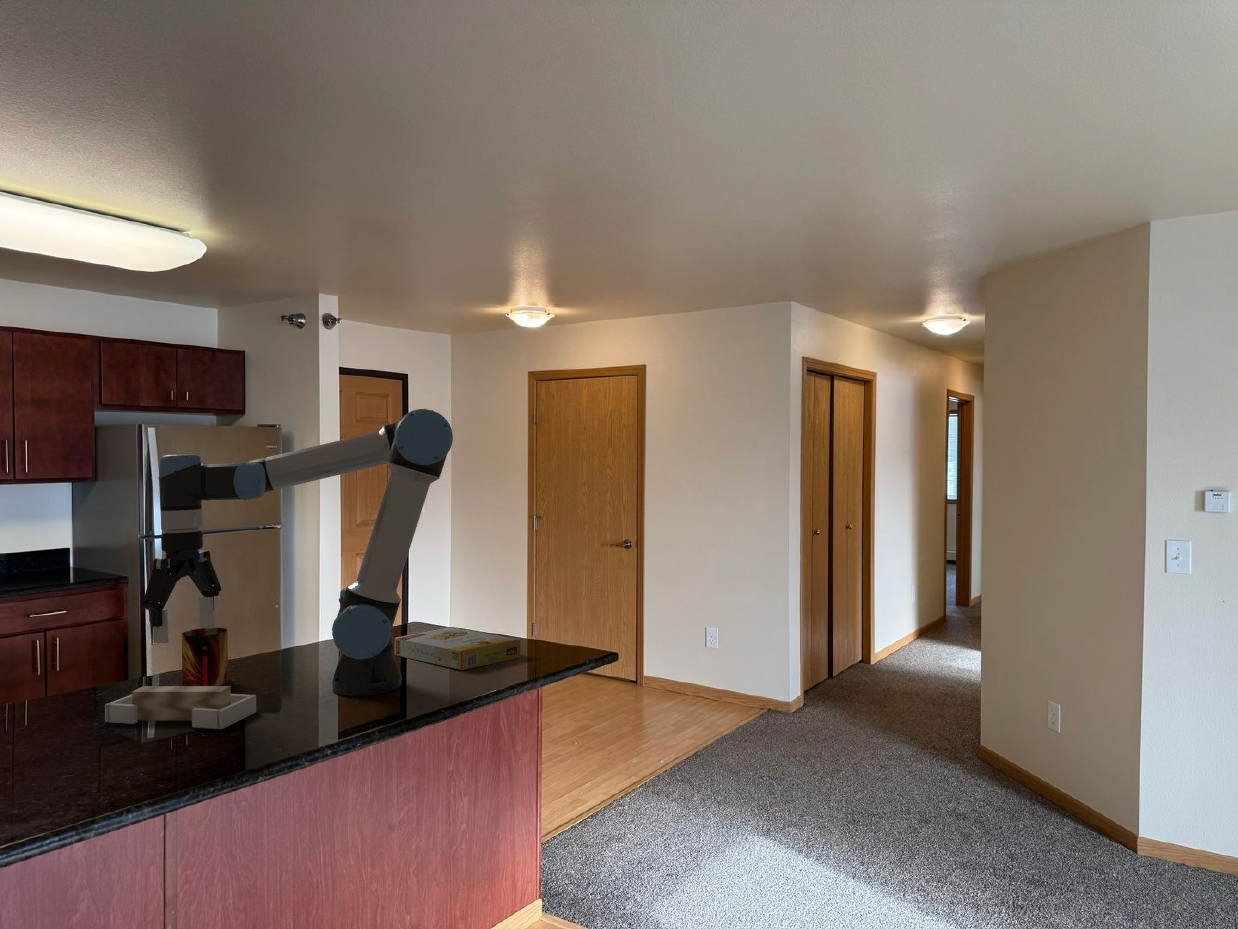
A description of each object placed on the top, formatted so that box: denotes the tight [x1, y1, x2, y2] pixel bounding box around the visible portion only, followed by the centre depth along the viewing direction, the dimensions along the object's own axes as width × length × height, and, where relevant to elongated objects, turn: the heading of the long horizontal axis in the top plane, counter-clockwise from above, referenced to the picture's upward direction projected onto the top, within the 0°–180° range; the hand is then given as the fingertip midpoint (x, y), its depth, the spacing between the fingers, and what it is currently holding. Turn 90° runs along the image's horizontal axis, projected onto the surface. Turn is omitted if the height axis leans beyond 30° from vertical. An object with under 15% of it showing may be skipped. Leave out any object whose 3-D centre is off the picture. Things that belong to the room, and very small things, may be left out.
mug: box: [181, 627, 229, 686], centre depth 196 cm, size 10×14×12 cm
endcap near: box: [191, 693, 257, 730], centre depth 169 cm, size 6×11×4 cm, turn 170°
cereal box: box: [393, 626, 521, 671], centre depth 222 cm, size 20×6×28 cm
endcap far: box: [104, 694, 139, 725], centre depth 173 cm, size 6×11×4 cm, turn 169°
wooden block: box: [131, 685, 232, 721], centre depth 171 cm, size 18×4×6 cm, turn 89°
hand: (184, 635), depth 171 cm, fingers open, 13 cm apart
